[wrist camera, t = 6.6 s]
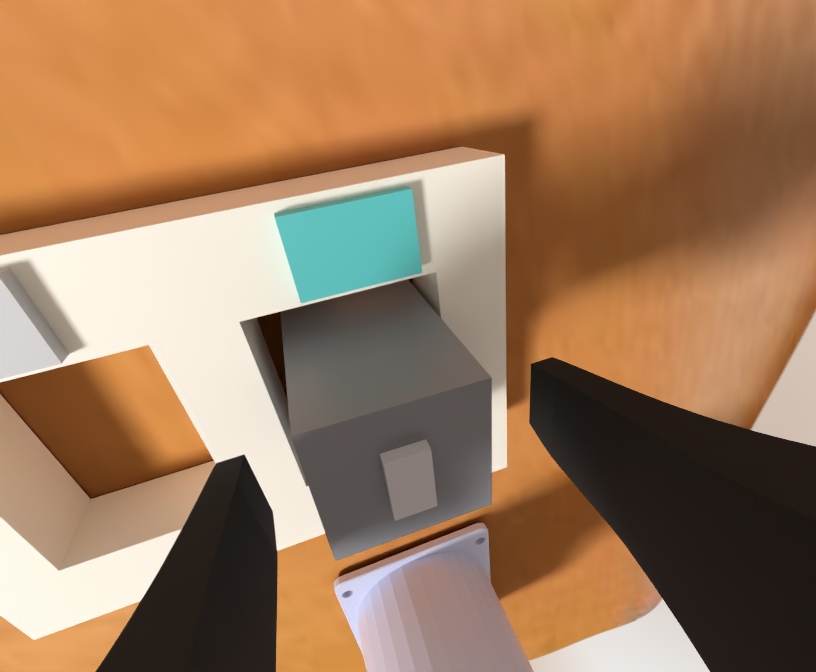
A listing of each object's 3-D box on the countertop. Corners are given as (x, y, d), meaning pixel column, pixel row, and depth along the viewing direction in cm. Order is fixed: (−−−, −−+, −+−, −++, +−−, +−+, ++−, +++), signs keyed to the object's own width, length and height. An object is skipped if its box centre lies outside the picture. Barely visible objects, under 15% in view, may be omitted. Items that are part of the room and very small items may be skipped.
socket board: (477, 424, 17) (512, 474, 15) (67, 562, 14) (27, 655, 12) (461, 146, 12) (513, 155, 9) (-230, 279, 9) (-424, 345, 6)
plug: (416, 374, 15) (497, 513, 10) (310, 403, 14) (337, 573, 9) (404, 275, 13) (498, 386, 8) (279, 303, 12) (291, 447, 7)
